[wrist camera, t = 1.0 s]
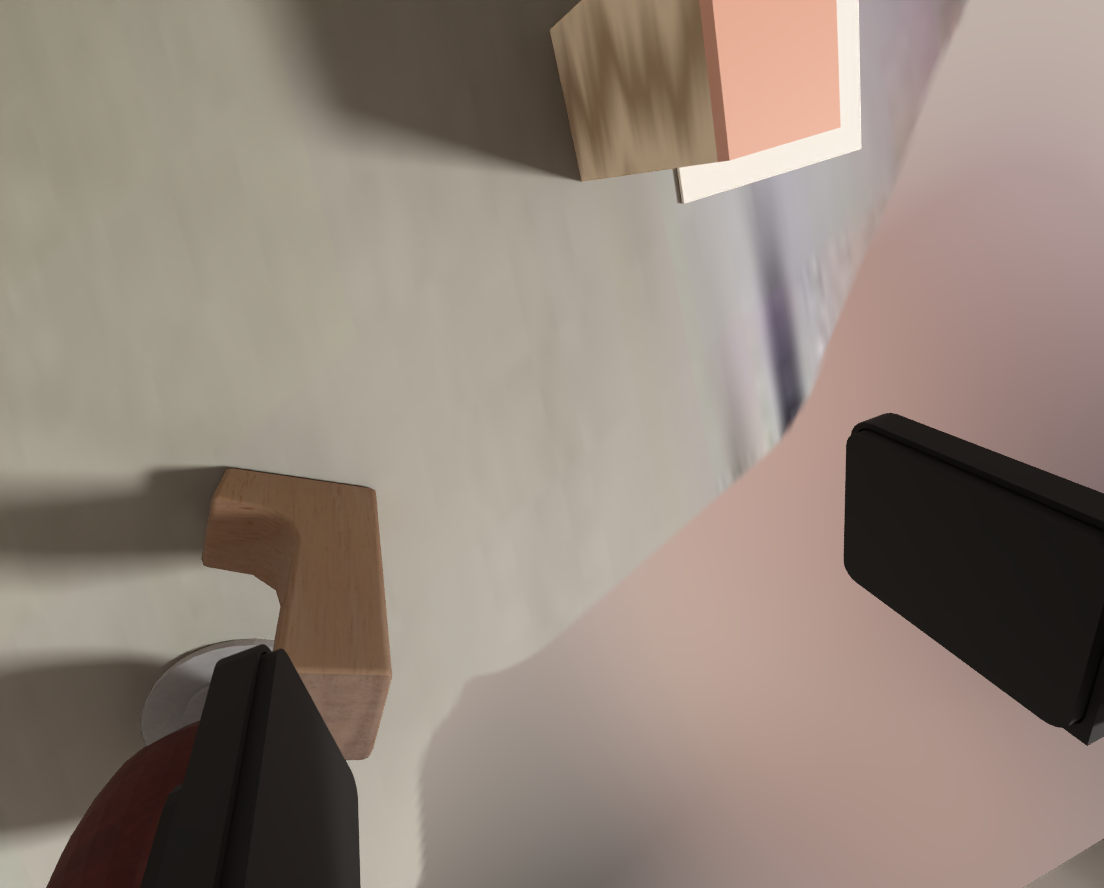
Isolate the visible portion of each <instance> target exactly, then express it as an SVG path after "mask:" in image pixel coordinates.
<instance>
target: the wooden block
mask: <svg viewBox="0 0 1104 888" xmlns="http://www.w3.org/2000/svg"><path fill="white" fill-rule="evenodd" d="M202 561H203V565H205V566H207V567H211V568H217V569H223V570H228V571H234V572H240V573H245V574H251V575H254V576H255V577H257V578H258V579H260V580H261V581H263V582H264V583H266V584H267V585H269V586H270V587H272V588H273V589H275V590H276V592H277V596H278V599H279V602H280V606H281V607H280V613H279V618H278V624H277V629H276V635H275V640H274V646H273V651H275V650H277V649H280V648H281V649H284V650H285V651H286V653H287V654H288V656H289V657H290V659H291V661H292V663H293V665H294V667H295V669H296V670H297V672H298V674H299V676H300V678H301V680H302V681H303V683H304V685H305V687H306V689H307V691H308V692H309V694H310V696H311V698H312V700H313V702H314V703H315V705H316V707H317V709H318V711H319V713H320V714H321V716H322V718H323V720H324V722H325V724H326V725H327V727H328V729H329V731H330V733H331V735H332V736H333V738H334V740H335V742H336V744H337V746H338V747H339V749H340V751H341V753H342V755H343V757H344V758H345V760H362V759H365V758H368V757H369V755H370V754H371V752H372V749H373V746H374V743H375V739H376V735H377V731H378V728H379V724H380V720H381V716H382V713H383V709H384V705H385V701H386V698H387V694H388V690H389V686H390V683H391V679H392V669H391V658H390V647H389V635H388V624H387V613H386V601H385V590H384V579H383V567H382V556H381V546H380V535H379V525H378V512H377V500H376V492H375V490H373V489H371V488H366V487H359V486H352V485H345V484H338V483H331V482H324V481H317V480H310V479H303V478H296V477H289V476H282V475H275V474H268V473H261V472H255V471H248V470H241V469H234V468H231V469H227V470H226V471H225V472H224V474H223V476H222V478H221V480H220V482H219V484H218V486H217V488H216V490H215V492H214V494H213V496H212V498H211V501H210V508H209V514H208V521H207V527H206V534H205V540H204V547H203V553H202Z"/></svg>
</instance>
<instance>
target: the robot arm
mask: <svg viewBox="0 0 1104 888" xmlns="http://www.w3.org/2000/svg"><path fill="white" fill-rule="evenodd" d="M845 483H846V484H845V525H844V565H845V568H846V570H847V572H848V574H849V575H850V577H851V578H852V579H853V580H854V581H855V582H856V583H858V584H859V585H861V586H862V587H863V588H865V589H866V590H867V591H869V592H870V593H871V594H873V595H874V596H876V597H877V598H878V599H879V600H881V601H882V602H884V603H885V604H886V605H888V606H889V607H890V608H892V609H893V610H894V611H896V612H897V613H898V614H900V615H901V616H902V617H904V618H905V619H906V620H908V621H909V622H911V623H912V624H913V625H915V626H916V627H917V628H919V629H920V630H921V631H923V632H924V633H926V634H927V635H928V636H929V637H931V638H932V639H934V640H935V641H936V642H938V643H939V644H940V645H942V646H943V647H945V648H946V649H947V650H948V651H950V652H951V653H953V654H954V655H955V656H957V657H958V658H959V659H961V660H962V661H963V662H965V663H966V664H967V665H969V666H970V667H971V668H973V669H974V670H975V671H977V672H978V673H979V674H981V675H982V676H984V677H985V678H986V679H988V680H989V681H990V682H992V683H993V684H994V685H996V686H997V687H998V688H1000V689H1001V690H1002V691H1004V692H1005V693H1007V694H1008V695H1009V696H1011V697H1012V698H1013V699H1015V700H1016V701H1017V702H1019V703H1020V704H1021V705H1023V706H1024V707H1025V708H1027V709H1028V710H1030V711H1031V712H1032V713H1034V714H1035V715H1036V716H1038V717H1039V718H1040V719H1042V720H1043V721H1045V722H1047V723H1048V724H1050V725H1053V726H1055V727H1062V728H1064V729H1065V730H1066V731H1068V732H1069V733H1070V734H1072V735H1073V736H1075V737H1076V738H1077V739H1079V740H1080V741H1081V742H1083V743H1084V744H1085V745H1087V746H1088V745H1090V744H1091V743H1093V742H1095V741H1097V740H1098V739H1100V738H1102V737H1104V494H1103V493H1101V492H1098V491H1096V490H1093V489H1090V488H1088V487H1085V486H1082V485H1080V484H1077V483H1075V482H1072V481H1070V480H1067V479H1064V478H1062V477H1059V476H1057V475H1054V474H1051V473H1049V472H1046V471H1044V470H1041V469H1038V468H1036V467H1033V466H1030V465H1028V464H1025V463H1023V462H1020V461H1017V460H1015V459H1012V458H1009V457H1007V456H1004V455H1002V454H999V453H997V452H994V451H991V450H989V449H986V448H983V447H981V446H978V445H976V444H973V443H971V442H968V441H965V440H962V439H960V438H958V437H955V436H952V435H950V434H947V433H944V432H942V431H939V430H936V429H934V428H931V427H929V426H926V425H924V424H921V423H918V422H916V421H913V420H911V419H908V418H905V417H903V416H900V415H898V414H893V413H886V414H882V415H880V416H877V417H874V418H872V419H869V420H866V421H863V422H861V423H858V424H857V425H856V426H854V428H853V430H852V433H851V436H850V437H849V438H848V440H847V445H846V482H845ZM140 888H360V856H359V821H358V795H357V788H356V784H355V780H354V777H353V774H352V772H351V769H350V768H349V766H348V764H347V762H346V760H345V758H344V757H343V755H342V753H341V751H340V749H339V747H338V746H337V744H336V742H335V740H334V738H333V736H332V735H331V733H330V731H329V729H328V727H327V725H326V724H325V722H324V720H323V718H322V716H321V714H320V713H319V711H318V709H317V707H316V705H315V703H314V702H313V700H312V698H311V696H310V694H309V692H308V691H307V689H306V687H305V685H304V683H303V681H302V680H301V678H300V676H299V674H298V672H297V670H296V669H295V667H294V665H293V663H292V661H291V659H290V657H289V656H288V654H287V653H286V651H285V650H284V649H281V648H280V649H277V650H275V651H271V650H270V648H269V647H268V646H266V645H265V644H260V645H258V646H255V647H252V648H249V649H247V650H244V651H241V652H239V653H236V654H233V655H230V656H228V657H225V658H222V659H220V660H219V661H218V662H217V663H216V665H215V667H214V671H213V675H212V678H211V682H210V686H209V689H208V693H207V697H206V700H205V704H204V708H203V712H202V715H201V719H200V723H199V726H198V730H197V734H196V737H195V741H194V745H193V748H192V752H191V756H190V760H189V763H188V767H187V771H186V774H185V778H184V782H183V783H182V784H180V785H177V786H176V787H175V788H174V789H173V790H172V791H171V792H170V793H169V795H168V798H167V800H166V802H165V805H164V807H163V810H162V814H161V817H160V820H159V824H158V827H157V831H156V834H155V838H154V841H153V844H152V848H151V851H150V855H149V858H148V861H147V865H146V868H145V872H144V875H143V879H142V882H141V885H140ZM1024 888H1104V839H1102V840H1101V841H1099V842H1098V843H1096V844H1094V845H1092V846H1091V847H1089V848H1088V849H1086V850H1084V851H1083V852H1081V853H1079V854H1078V855H1076V856H1074V857H1073V858H1071V859H1070V860H1068V861H1066V862H1065V863H1063V864H1061V865H1060V866H1058V867H1057V868H1055V869H1053V870H1051V871H1050V872H1048V873H1047V874H1045V875H1043V876H1042V877H1040V878H1038V879H1037V880H1035V881H1034V882H1032V883H1030V884H1028V885H1027V886H1025V887H1024Z"/></svg>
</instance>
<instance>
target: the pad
mask: <svg viewBox="0 0 1104 888" xmlns="http://www.w3.org/2000/svg"><path fill="white" fill-rule="evenodd" d="M836 2H837V33H838V63H839V94H840V124H841V127H840V128H837V129H833V130H830V131H827V132H823V133H820V134H817V135H813V136H810V137H807V138H803V139H800V140H796V141H793V142H790V143H786V144H783V145H780V146H776V147H773V148H770V149H766V150H763V151H760V152H756V153H753V154H750V155H746V156H743V157H740V158H736V159H733V160H730V161H723V162H716V163H709V164H702V165H695V166H688V167H681V168H677V172H678V179H679V186H680V193H681V200H682V204H685V203H688V202H691V201H694V200H698V199H701V198H704V197H707V196H710V195H714V194H717V193H720V192H723V191H727V190H730V189H733V188H736V187H740V186H743V185H746V184H749V183H752V182H756V181H759V180H762V179H765V178H769V177H772V176H775V175H778V174H782V173H785V172H788V171H791V170H794V169H798V168H801V167H804V166H807V165H811V164H814V163H817V162H820V161H824V160H827V159H830V158H833V157H837V156H840V155H843V154H846V153H849V152H853V151H856V150H859V149H861V104H860V52H859V0H836Z"/></svg>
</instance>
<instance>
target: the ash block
mask: <svg viewBox="0 0 1104 888" xmlns="http://www.w3.org/2000/svg"><path fill="white" fill-rule="evenodd" d="M550 34H551V38H552V43H553V48H554V53H555V57H556V62H557V67H558V72H559V76H560V81H561V86H562V91H563V95H564V100H565V105H566V110H567V114H568V119H569V124H570V129H571V133H572V138H573V143H574V148H575V152H576V157H577V162H578V167H579V171H580V176H581V181H589V180H596V179H603V178H610V177H617V176H624V175H631V174H638V173H645V172H652V171H659V170H666V169H673V168H681V167H688V166H695V165H702V164H709V163H716V162H723V161H730V160H733V159H736V158H740V157H743V156H746V155H750V154H753V153H756V152H760V151H763V150H766V149H770V148H773V147H776V146H780V145H783V144H786V143H790V142H793V141H796V140H800V139H803V138H807V137H810V136H813V135H817V134H820V133H823V132H827V131H830V130H833V129H837V128H840V127H841V124H840V94H839V63H838V33H837V2H836V0H581V1H580V2H579V3H578V4H577V5H576V6H575V7H574V8H573V9H572V10H570V11H569V12H568V13H567V14H566V15H565V16H564V17H563V18H562V19H561V20H560V21H559V22H558V23H556V24H555V25H554V26H553V27H552V28H551V29H550Z"/></svg>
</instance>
